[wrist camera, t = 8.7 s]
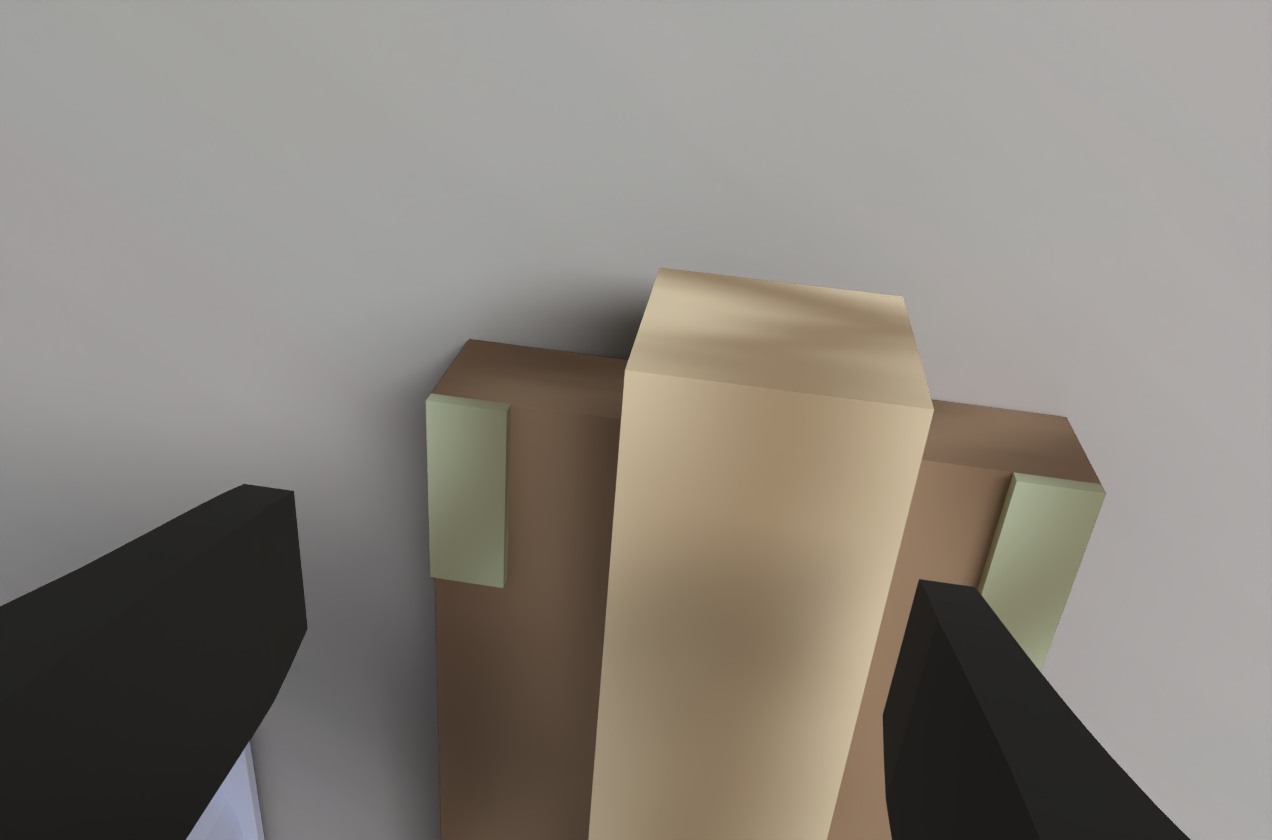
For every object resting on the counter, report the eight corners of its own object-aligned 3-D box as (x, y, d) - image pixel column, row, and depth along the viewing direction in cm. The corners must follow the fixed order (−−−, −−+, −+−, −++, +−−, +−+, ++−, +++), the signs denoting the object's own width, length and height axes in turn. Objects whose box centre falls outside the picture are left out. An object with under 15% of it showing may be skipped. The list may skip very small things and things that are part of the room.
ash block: (602, 890, 24) (571, 1059, 21) (659, 267, 17) (624, 370, 13) (766, 918, 24) (762, 1095, 20) (903, 297, 16) (934, 409, 13)
